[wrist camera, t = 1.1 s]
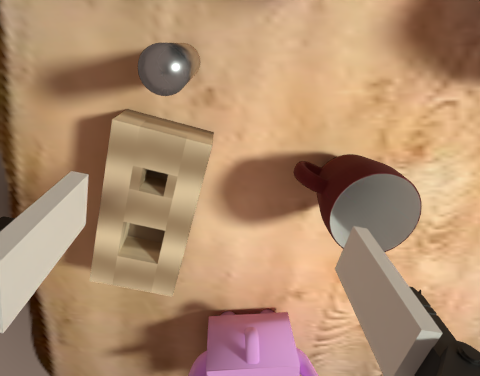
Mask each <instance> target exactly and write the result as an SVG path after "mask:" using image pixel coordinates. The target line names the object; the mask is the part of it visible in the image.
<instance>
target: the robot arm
mask: <svg viewBox="0 0 480 376" xmlns="http://www.w3.org/2000/svg"><path fill="white" fill-rule="evenodd" d="M87 193H88V174H84V173H79V172H74V171H71V172H70V173H68V174H67V175H66V176H65V177H64V178H62V179H61V180H60V181H59V182H58V183H57V184H55V185H54V186H53V187H52V188H51V189H50V190H48V191H47V192H46V193H45V194H44V195H43V196H41V197H40V198H39V199H38V200H37V201H36V202H34V203H33V204H32V205H31V206H30V207H29V208H27V209H26V210H25V211H24V212H23V213H21V214H20V215H19V216H18V217H17V218H16V219H15V218H9V217H1V218H0V333H4V332H5V330H6V329H7V328H8V326H9V325H10V324H11V322H12V321H13V320H14V319H15V317H16V316H17V315H18V313H19V312H20V310H21V309H22V308H23V307H24V305H25V304H26V303H27V301H28V300H29V299H30V298H31V296H32V295H33V294H34V292H35V291H36V290H37V288H38V287H39V286H40V284H41V283H42V282H43V280H44V279H45V278H46V276H47V275H48V274H49V273H50V271H51V270H52V269H53V267H54V266H55V265H56V263H57V262H58V261H59V259H60V258H61V257H62V255H63V254H64V253H65V251H66V250H67V249H68V248H69V246H70V245H71V244H72V242H73V241H74V240H75V238H76V237H77V236H78V234H79V233H80V232H81V230H82V229H83V228H84V226H85V225H86V211H87ZM335 270H336V272H337V275H338V277H339V279H340V281H341V283H342V286H343V288H344V290H345V292H346V294H347V296H348V299H349V301H350V303H351V305H352V307H353V310H354V312H355V314H356V316H357V318H358V321H359V323H360V325H361V327H362V329H363V331H364V334H365V336H366V338H367V340H368V342H369V345H370V347H371V349H372V351H373V353H374V356H375V358H376V360H377V362H378V364H379V366H380V369H381V371H382V373H383V375H384V376H480V352H479V351H477V350H476V349H474V348H473V347H471V346H470V345H468V344H466V343H463V342H460V341H457V340H456V339H455V338H454V336H453V335H452V334H451V332H450V331H449V330H448V328H447V327H446V326H445V324H444V323H443V322H442V320H441V319H440V318H439V316H437V315H436V312H435V311H434V310H433V308H431V307H430V304H429V303H428V302H427V300H426V299H425V298H424V296H422V295H421V294H420V293H419V292H418V291H417V290H415V289H414V288H413V287H409V286H408V284H407V283H406V282H405V280H404V279H403V278H402V276H401V275H400V273H399V272H398V271H397V269H396V268H395V266H394V265H393V264H392V262H391V261H390V260H389V258H388V257H387V255H386V254H385V253H384V251H383V250H382V248H381V247H380V246H379V244H378V243H377V241H376V240H375V239H374V237H373V236H372V235H371V233H370V232H369V230H368V229H367V228H361V227H356V226H353V228H352V230H351V232H350V235H349V237H348V239H347V242H346V244H345V246H344V249H343V251H342V253H341V256H340V258H339V260H338V263H337V265H336V267H335Z"/></svg>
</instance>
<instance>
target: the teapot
mask: <svg viewBox="0 0 480 376" xmlns="http://www.w3.org/2000/svg"><path fill="white" fill-rule="evenodd" d="M299 374H300V375H302V376H318V374H317V373H316V371H315V369H314V367H313V365H312V364H311V362H310V360H309V359H308V357H307V356H306V355H305V354H304V353H303V352H302V351H301V350H300V349H298V348H296V346H295V342H294V337H293V333H292V329H291V325H290V321H289V316H288V312H283V313H274V311H272V310H269V309H266V310H263V311H262V312H261V313H260V314H241V315H235V314H234V313H233V312H230V311H226V312H224V313H222V314H221V316H209V321H208V340H207V351H205V352H203V353H202V354H201V355H199V356H198V358H197V359H196V360H195V362H194V363H193V365H192V367H191V370H190V372H189V375H188V376H299Z"/></svg>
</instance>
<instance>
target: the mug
mask: <svg viewBox="0 0 480 376" xmlns="http://www.w3.org/2000/svg"><path fill="white" fill-rule="evenodd" d="M294 176H295V178H296V179H297V180H298V181H299V182H300V183H302V184H303V185H304V186H306V187H307V188H309V189H311V190H313V191H315V192H317V198H318V203H319V207H320V212H321V216H322V219H323V221H324V224H325V226H326V227H327V229H328V231H329V233H330V234H331V236H332V237H333V239H334V240H335V242H336V243H337V244H338V245H339V246H341V247H342V248H343V249H344V246H345V244H346V242H347V239H348V237H349V235H350V232H351V230H352V228H353V226H356V227H361V228H367V229H368V230H369V232H370V233H371V235H372V236H373V237H374V239H375V240H376V241H377V243H378V244H379V246H380V247H381V248H382V250H383V251H384V252H386V251H389V250H391V249H393V248H395V247H396V246H398V245H399V244H401V243H402V242H403V241H404V240H406V239H407V238H408V237H409V235H410V234H411V233H412V232H413V230H414V229H415V227H416V225H417V223H418V221H419V218H420V215H421V198H420V195H419V193H418V191H417V189H416V187H415V186H414V185H413V184H412V183H411V182H410V181H409V180H408V179H407V178H405V177H404V176H403V175H402V174H400V173H399V172H398V171H396V170H395V169H393V168H391V167H389V166H387V165H385V164H383V163H380V162H377V161H374V160H371V159H368V158H365V157H362V156H359V155H350V154H349V155H342V156H338V157H336V158H334V159H332V160H330V161H329V162H328V163H326V164H325V165H324V166H323V167H322V168H320V167H318V166H316V165H314V164H311V163H309V162H305V161H301V162H299V163H298V164H297V165H296V166H295V168H294Z"/></svg>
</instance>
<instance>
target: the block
mask: <svg viewBox="0 0 480 376" xmlns="http://www.w3.org/2000/svg"><path fill="white" fill-rule="evenodd" d="M213 134H214V132H211V131H207V130H203V129H200V128H196V127H192V126H188V125H185V124H181V123H177V122H173V121H170V120H166V119H162V118H159V117H155V116H151V115H147V114H144V113H140V112H136V111H132V110H129V109H127V110H125V111H124V112H122V113H121V114H119V115H118V116H116V117H115V118H113V119H112V124H111V131H110V139H109V146H108V153H107V160H106V167H105V174H104V181H103V189H102V196H101V203H100V210H99V217H98V224H97V231H96V239H95V246H94V253H93V260H92V267H91V274H90V281H93V282H98V283H103V284H109V285H114V286H119V287H125V288H130V289H135V290H140V291H146V292H151V293H156V294H162V295H167V296H172V297H173V293H174V289H175V286H176V282H177V278H178V274H179V270H180V267H181V263H182V259H183V255H184V251H185V247H186V244H187V240H188V236H189V232H190V228H191V225H192V221H193V217H194V213H195V209H196V205H197V202H198V198H199V194H200V190H201V186H202V183H203V179H204V175H205V171H206V167H207V164H208V160H209V156H210V152H211V148H212V143H213Z"/></svg>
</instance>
